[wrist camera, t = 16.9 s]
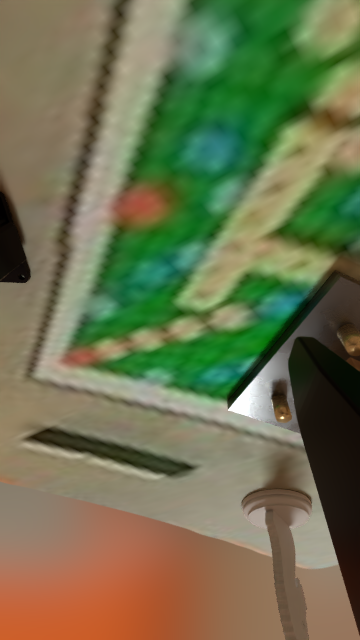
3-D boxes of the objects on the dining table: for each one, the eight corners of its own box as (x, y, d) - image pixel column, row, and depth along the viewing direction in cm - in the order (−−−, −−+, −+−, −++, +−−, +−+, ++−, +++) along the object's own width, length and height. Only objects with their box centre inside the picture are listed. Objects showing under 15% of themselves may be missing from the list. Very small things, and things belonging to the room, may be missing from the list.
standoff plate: (227, 401, 29) (229, 427, 26) (335, 270, 20) (353, 291, 17) (355, 444, 32) (368, 471, 29) (499, 345, 23) (535, 372, 20)
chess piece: (257, 522, 46) (277, 670, 33) (230, 496, 41) (241, 656, 29) (319, 512, 42) (367, 673, 30) (297, 483, 38) (343, 658, 25)
